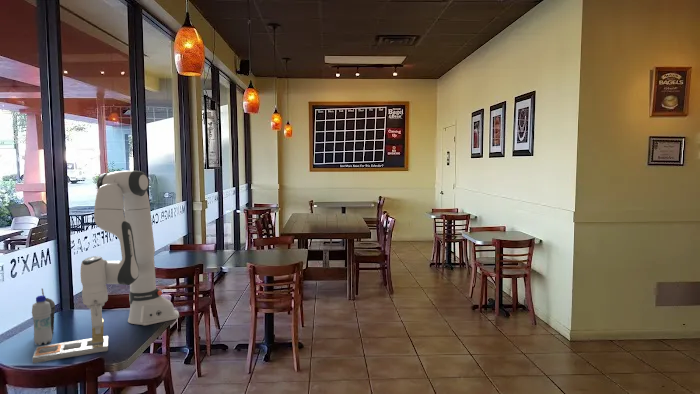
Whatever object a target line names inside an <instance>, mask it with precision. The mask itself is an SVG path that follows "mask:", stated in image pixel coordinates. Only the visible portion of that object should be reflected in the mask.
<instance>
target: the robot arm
mask: <svg viewBox="0 0 700 394" xmlns="http://www.w3.org/2000/svg"><path fill="white" fill-rule="evenodd" d="M149 183H150V182H149V178H148V176H147V174H146V173H145V172H144V171H141V170H120V171H113V172H110V171H108V172H103V173H102V174H100V175H99V176H98V178H97V180H96V188H97V191H96V196H95V202H94V213H93V217H94V223H95V225H96V226H97V227H98V228H99V229H100V230H102V231H103V232H107V233H109V234H111V235H114V236H115V237H116V238H117V239H118V241H119V245H120V252H121V253H120V254H121V260H105V259H103V257H101V256H98V255H97V256H96V255H95V256H94V255H93V256H90V257H87V258H85V259H83V260H82V261H81V264H80V283H81V285H82V290H81V296H82V304H83V305H84V306H86V308H87V309H90V317H91V318H90V319H91V328H92V327H93V328H95V332H96V334H100V333H101V326H102V325H103V322H104V320H103V321H102V319H103V313H102V309H103V307H104V306H105V303H107V301H109V300H108V299H109V296H108V287H107V285H123V286H129V293H128V296H129V299H128V300H129V305H130V307H129V313H128V319H127V322H128V323H129V324H132V325H133V324H134V325H141V326H149V325H153V324H154V325H155V324H157V323H164V322H167V321H169V322H170V321H173V320H177V319H179V317H180V312H179V311H178V310H177V309H176V308H175V307H174V304H173V302H171V300H170V299H167V297H164V296H163V292H162V290H161V289H160V288H157V287H156V286H157V285H156V267H155V266H156V265H155V253H156V251H155V250H156V248H155V240H154V232H153V225H152V223H153V222H152V214H151V204H150V199H149V193H148V191H147V190H148V188H149Z"/></svg>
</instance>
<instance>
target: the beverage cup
mask: <svg viewBox="0 0 700 394" xmlns="http://www.w3.org/2000/svg"><path fill="white" fill-rule="evenodd" d="M41 294H42V295H41V296H45V293H44V288H41ZM46 301H47V302H49V303H50V307H51V314H50V317H51V330H52V334H54V330H55V329H54V328H55V311H56V304H55V301H54V300H53V299H51V298H49V297H46Z"/></svg>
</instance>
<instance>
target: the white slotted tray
mask: <svg viewBox="0 0 700 394" xmlns="http://www.w3.org/2000/svg"><path fill="white" fill-rule="evenodd" d="M108 351H109V335H103V342H95V343H92V337H91V338H85V339H78V340H72V341H64V342H59V343H58V342H57V343H51V344H44V345H37V346H36V349H35V351H34V353H33V356H32V364H37V363H42V362H43V363H44V362H47V361H54V360H60V359H66V358H73V357H78V356H84V355H90V354H96V353H100V352H101V353H103V352H108Z"/></svg>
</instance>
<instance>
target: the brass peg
mask: <svg viewBox="0 0 700 394" xmlns="http://www.w3.org/2000/svg"><path fill="white" fill-rule="evenodd" d="M102 321H103V325H102V326H101V333H100V334H96V332H95V328H93V327H92V326H91V338H92V343H95V342H103V336H104V327H105V326H104V318H102Z"/></svg>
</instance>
